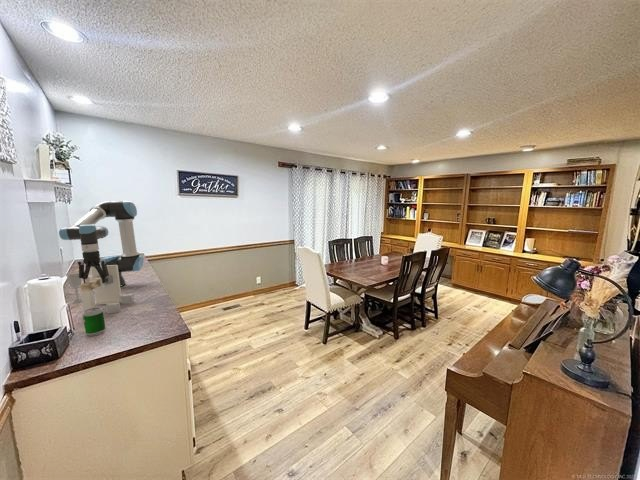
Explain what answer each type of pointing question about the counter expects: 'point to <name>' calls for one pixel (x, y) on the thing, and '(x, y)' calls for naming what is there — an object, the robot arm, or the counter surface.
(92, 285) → the rail
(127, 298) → the stand
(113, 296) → the white shelf
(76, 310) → the counter surface
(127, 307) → the counter surface
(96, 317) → the soda can
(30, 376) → the counter surface
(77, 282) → the chalice
